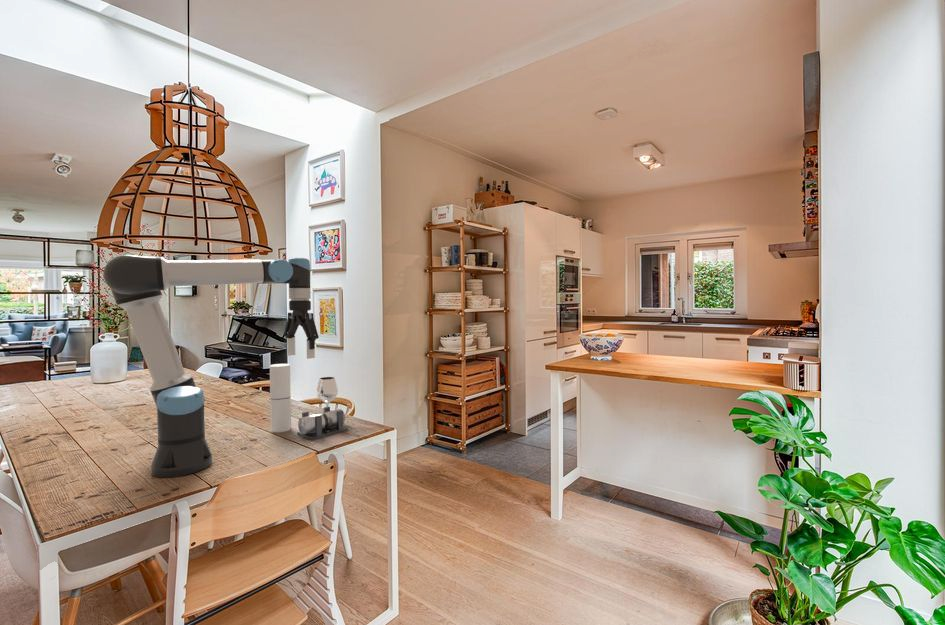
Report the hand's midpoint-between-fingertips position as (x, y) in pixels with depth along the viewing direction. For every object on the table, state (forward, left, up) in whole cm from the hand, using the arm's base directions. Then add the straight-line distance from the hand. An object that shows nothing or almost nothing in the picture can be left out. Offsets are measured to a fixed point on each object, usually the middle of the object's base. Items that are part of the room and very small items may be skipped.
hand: (300, 356), depth 161 cm
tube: (+5, -6, -27) cm, 29 cm away
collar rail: (+5, -6, -29) cm, 30 cm away
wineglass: (+14, +5, -29) cm, 32 cm away
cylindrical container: (-3, +10, -29) cm, 31 cm away
